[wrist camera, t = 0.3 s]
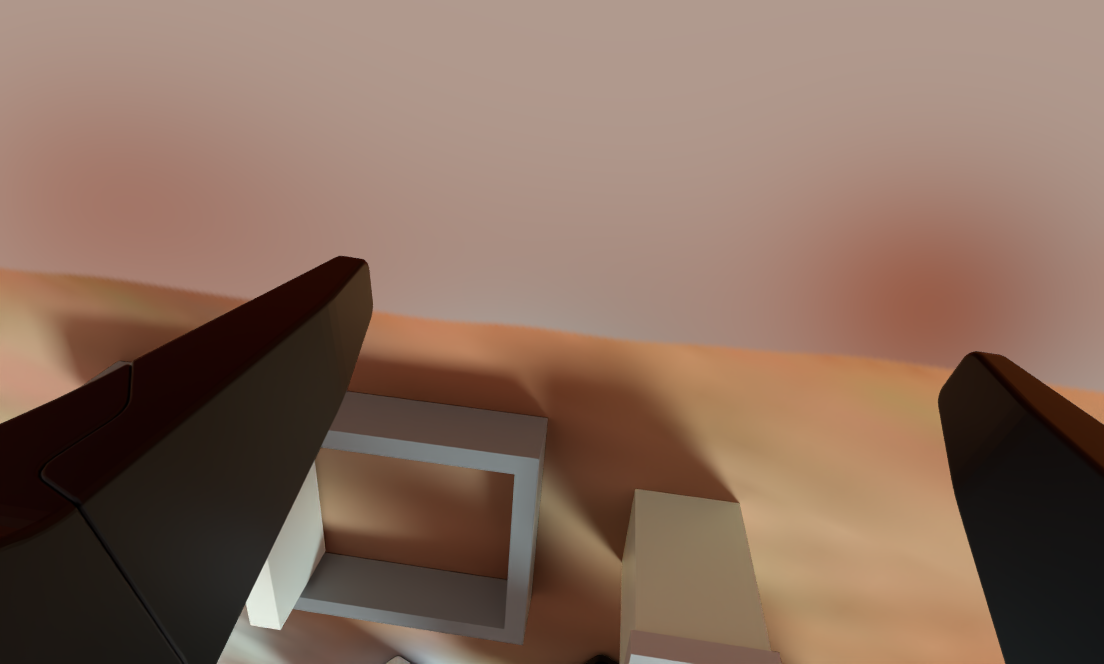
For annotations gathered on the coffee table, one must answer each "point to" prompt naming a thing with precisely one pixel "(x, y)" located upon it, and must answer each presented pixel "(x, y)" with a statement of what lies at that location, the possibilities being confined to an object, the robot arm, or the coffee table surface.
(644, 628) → the sage jar
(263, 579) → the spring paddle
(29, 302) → the coffee table surface
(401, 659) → the medicine bottle
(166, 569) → the robot arm
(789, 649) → the coffee table surface
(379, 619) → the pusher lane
